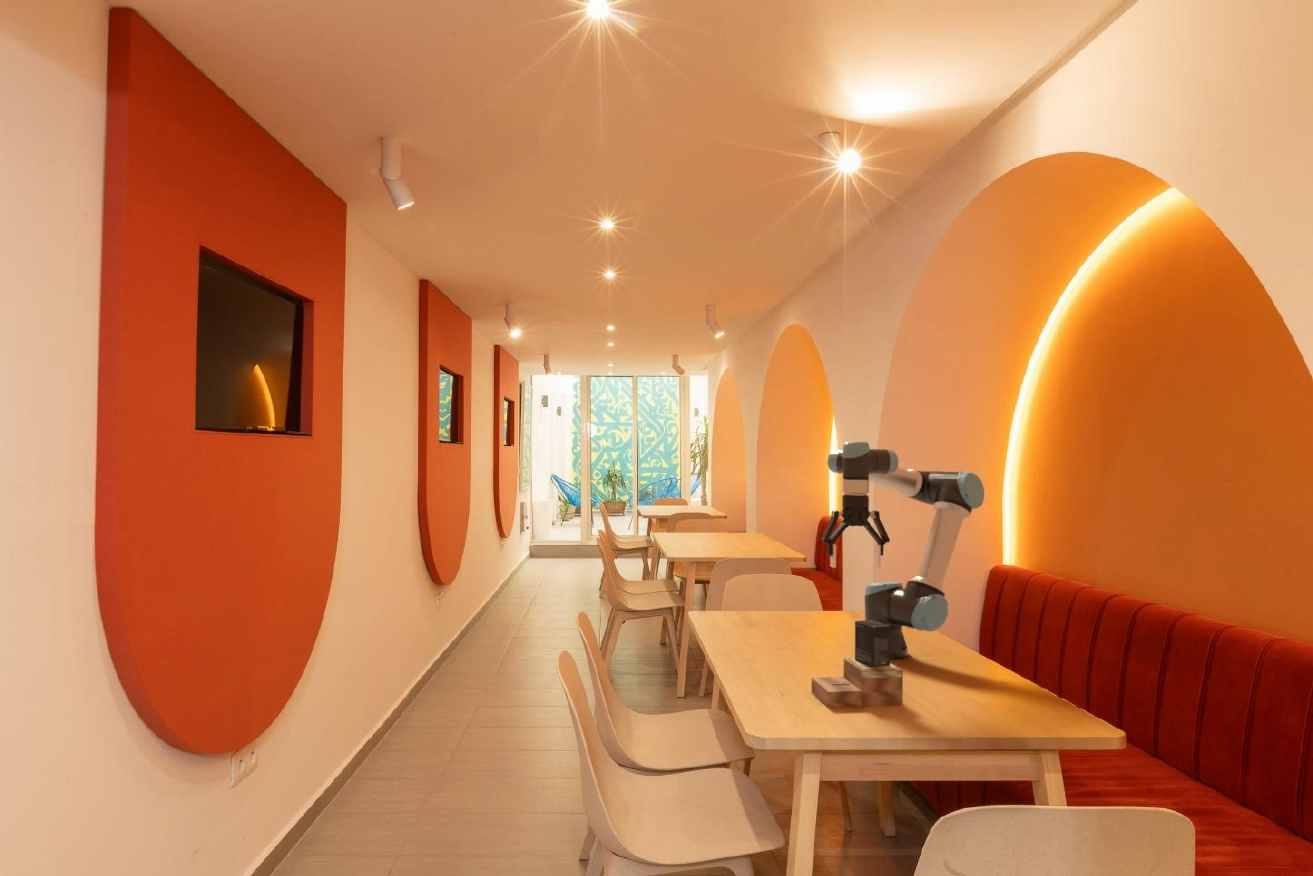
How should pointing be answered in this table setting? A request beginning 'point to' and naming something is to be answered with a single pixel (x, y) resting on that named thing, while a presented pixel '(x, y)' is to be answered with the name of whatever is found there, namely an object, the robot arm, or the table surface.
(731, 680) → the table surface
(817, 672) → the table surface
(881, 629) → the box
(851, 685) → the stand
